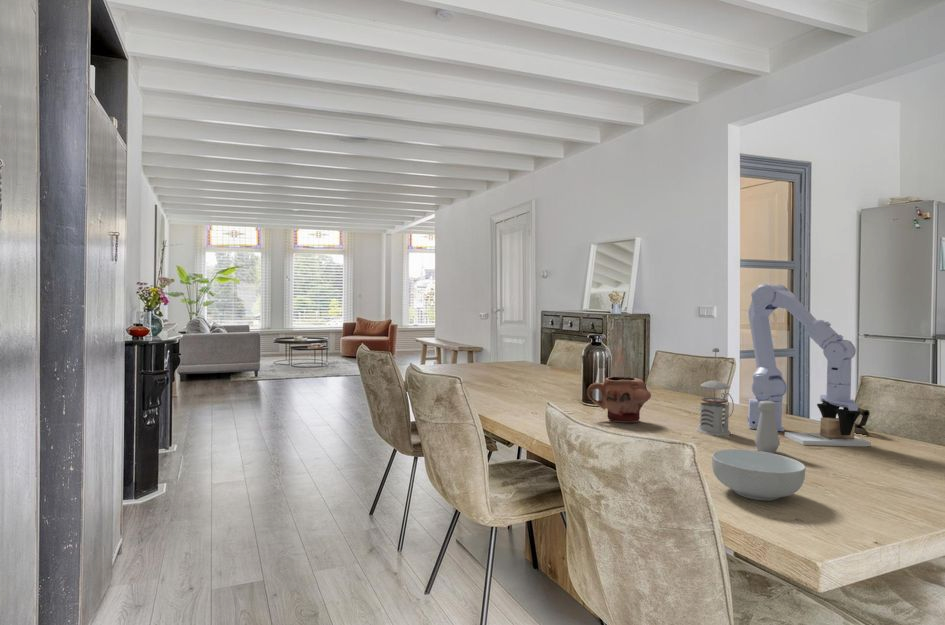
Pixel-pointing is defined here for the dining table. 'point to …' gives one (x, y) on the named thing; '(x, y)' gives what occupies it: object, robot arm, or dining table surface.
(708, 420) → the french press
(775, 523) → the dining table surface
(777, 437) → the salt shaker
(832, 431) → the block
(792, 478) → the cereal bowl
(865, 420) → the clothes iron
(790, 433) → the board
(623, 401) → the brown clay mug
